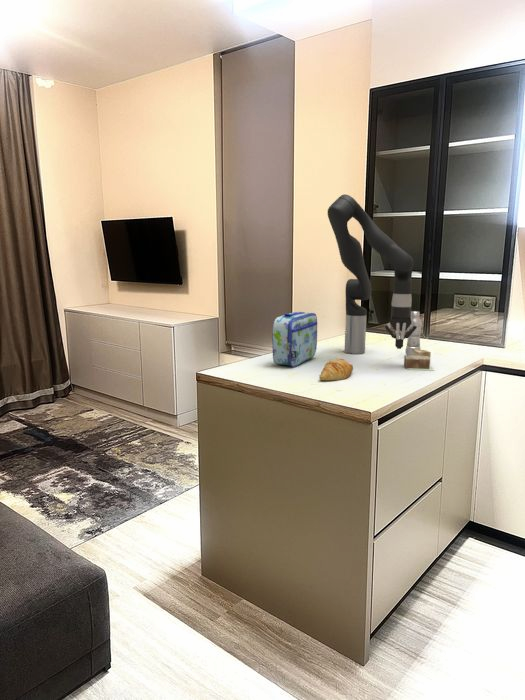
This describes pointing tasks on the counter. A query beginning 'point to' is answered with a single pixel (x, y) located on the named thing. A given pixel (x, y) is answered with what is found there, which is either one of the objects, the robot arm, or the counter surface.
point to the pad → (422, 369)
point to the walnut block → (416, 362)
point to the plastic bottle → (414, 334)
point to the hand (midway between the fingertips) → (399, 348)
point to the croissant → (336, 370)
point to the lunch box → (294, 338)
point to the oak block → (422, 353)
